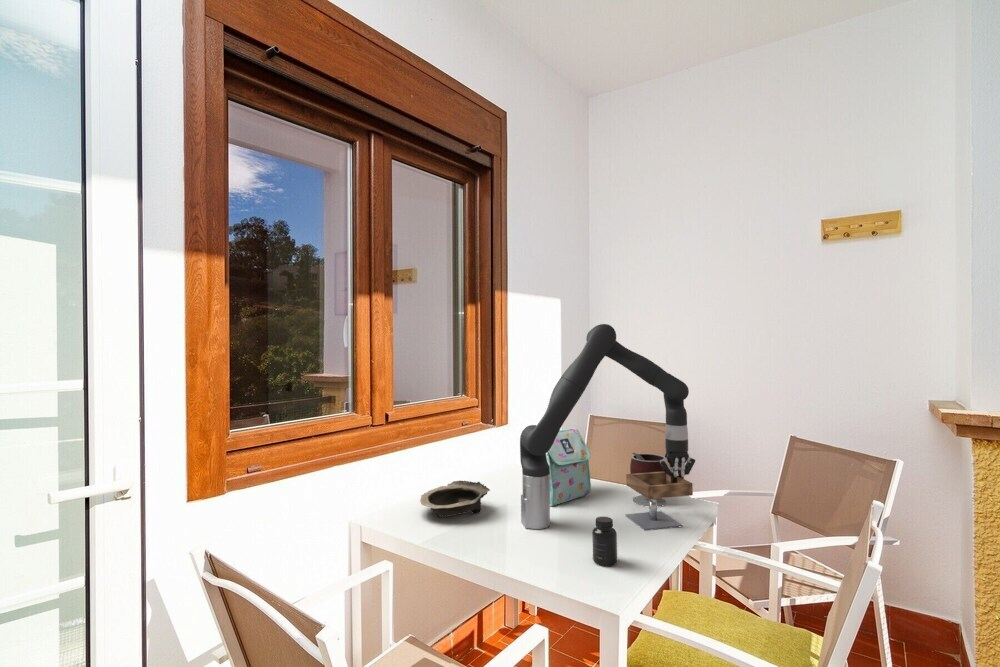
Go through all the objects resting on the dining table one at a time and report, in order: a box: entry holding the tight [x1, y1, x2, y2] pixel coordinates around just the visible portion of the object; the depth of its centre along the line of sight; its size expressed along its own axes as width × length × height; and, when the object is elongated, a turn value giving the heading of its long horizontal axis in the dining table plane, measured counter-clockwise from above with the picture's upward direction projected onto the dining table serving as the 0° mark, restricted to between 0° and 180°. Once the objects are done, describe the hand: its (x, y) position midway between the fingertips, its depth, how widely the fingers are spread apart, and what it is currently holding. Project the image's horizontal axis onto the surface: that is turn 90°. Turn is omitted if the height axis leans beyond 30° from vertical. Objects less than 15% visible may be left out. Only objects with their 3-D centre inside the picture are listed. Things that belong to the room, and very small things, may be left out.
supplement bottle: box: [591, 516, 618, 567], centre depth 144 cm, size 7×7×12 cm
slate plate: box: [625, 510, 684, 531], centre depth 176 cm, size 14×14×1 cm
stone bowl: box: [419, 480, 491, 518], centre depth 186 cm, size 25×25×9 cm
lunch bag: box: [546, 428, 592, 507], centre depth 202 cm, size 23×16×27 cm
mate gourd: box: [629, 452, 667, 507], centre depth 196 cm, size 16×14×20 cm
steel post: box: [648, 499, 658, 521], centre depth 176 cm, size 2×2×7 cm
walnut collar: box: [626, 471, 694, 499], centre depth 176 cm, size 16×16×4 cm
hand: (677, 487), depth 178 cm, fingers closed on walnut collar, 1 cm apart
